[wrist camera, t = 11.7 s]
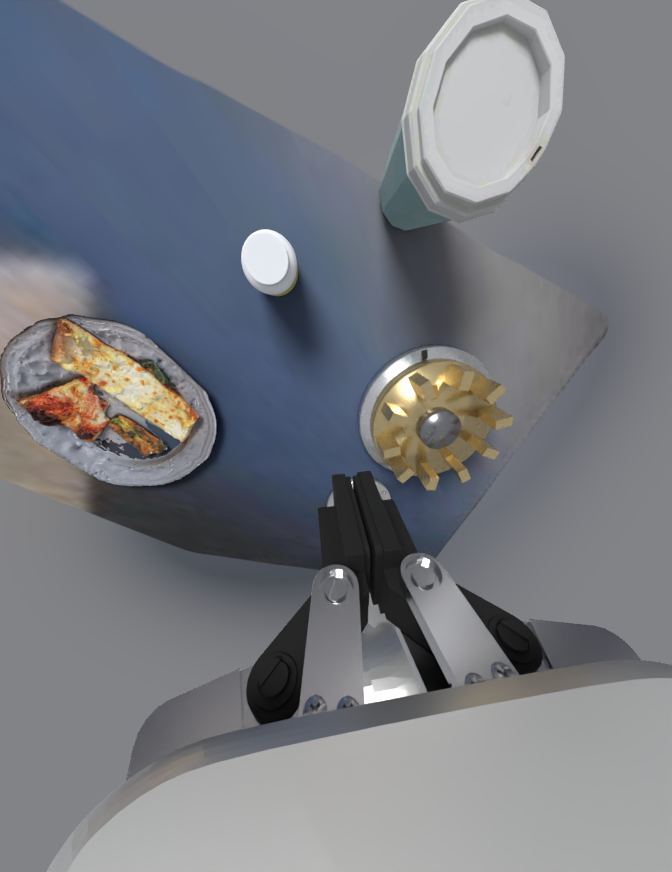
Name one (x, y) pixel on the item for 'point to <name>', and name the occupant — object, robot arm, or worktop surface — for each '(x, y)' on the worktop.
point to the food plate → (106, 399)
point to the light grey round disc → (392, 370)
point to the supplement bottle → (269, 262)
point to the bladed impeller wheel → (436, 419)
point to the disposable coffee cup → (474, 114)
